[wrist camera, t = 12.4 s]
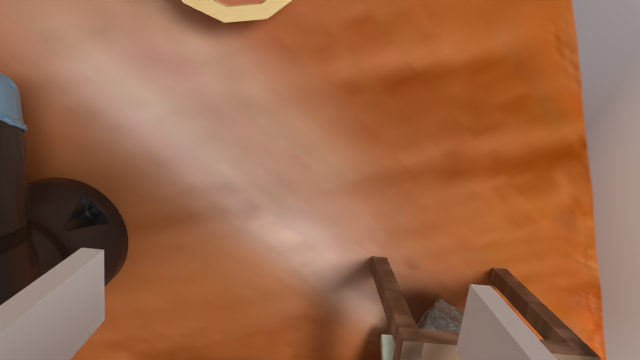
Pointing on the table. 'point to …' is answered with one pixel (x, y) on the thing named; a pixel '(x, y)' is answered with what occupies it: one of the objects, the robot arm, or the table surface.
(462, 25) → the table surface
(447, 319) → the rock
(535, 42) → the table surface
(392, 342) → the trapdoor
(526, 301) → the stand
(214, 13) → the potted cactus
